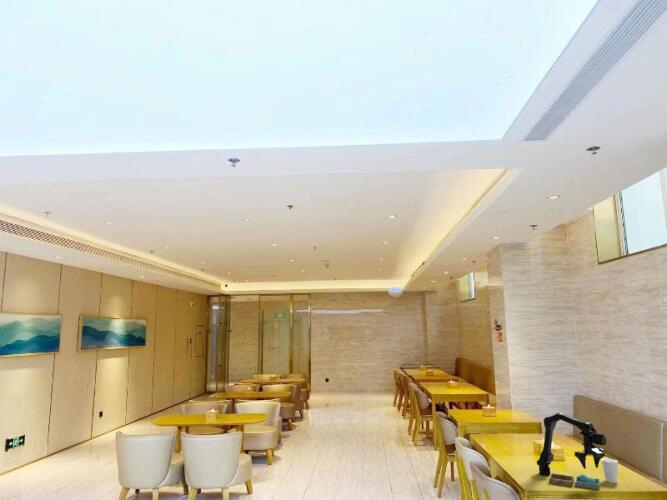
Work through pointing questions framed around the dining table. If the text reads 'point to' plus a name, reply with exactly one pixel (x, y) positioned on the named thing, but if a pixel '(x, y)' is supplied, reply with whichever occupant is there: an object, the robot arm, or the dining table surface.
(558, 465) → the dining table surface
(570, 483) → the walnut tray
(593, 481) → the teal ball
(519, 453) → the dining table surface
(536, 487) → the dining table surface
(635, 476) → the dining table surface
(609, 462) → the foam cup
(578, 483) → the charcoal tray
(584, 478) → the ball
